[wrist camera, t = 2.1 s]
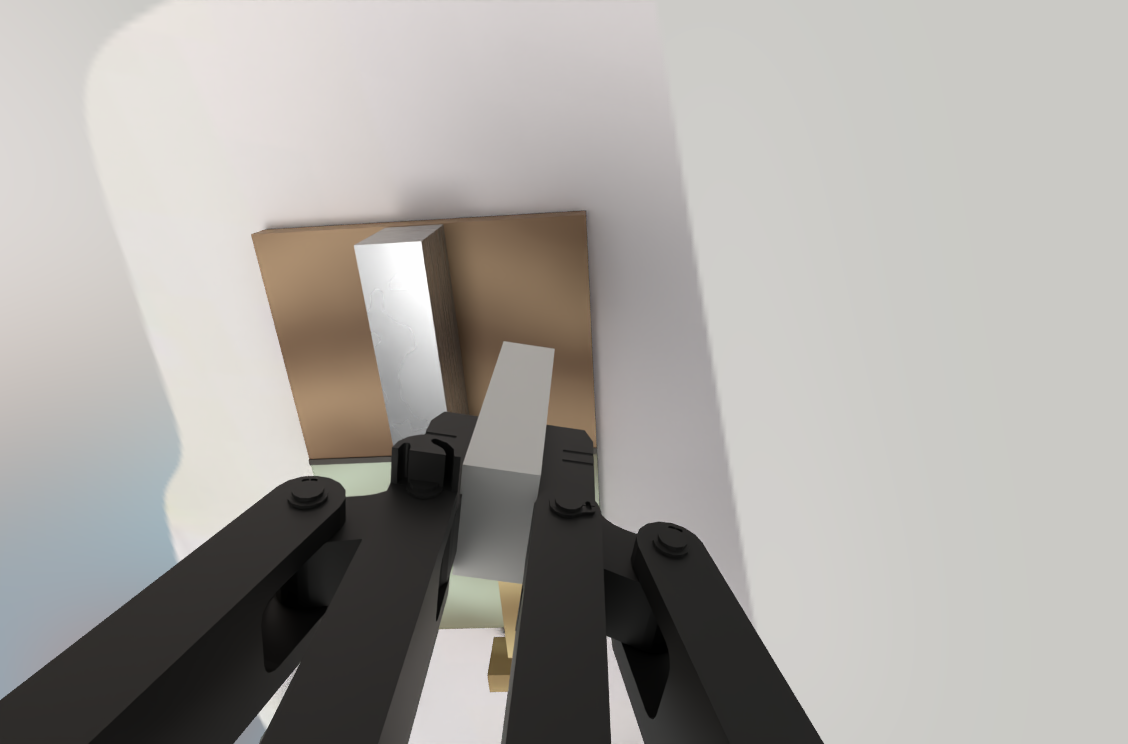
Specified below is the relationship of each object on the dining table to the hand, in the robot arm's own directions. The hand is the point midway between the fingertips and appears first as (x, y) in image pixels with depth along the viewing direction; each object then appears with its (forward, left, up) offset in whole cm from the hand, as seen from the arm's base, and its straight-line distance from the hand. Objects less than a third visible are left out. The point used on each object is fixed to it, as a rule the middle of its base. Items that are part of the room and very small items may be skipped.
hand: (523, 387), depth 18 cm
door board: (-7, +5, -10) cm, 13 cm away
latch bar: (-3, +5, -9) cm, 10 cm away
